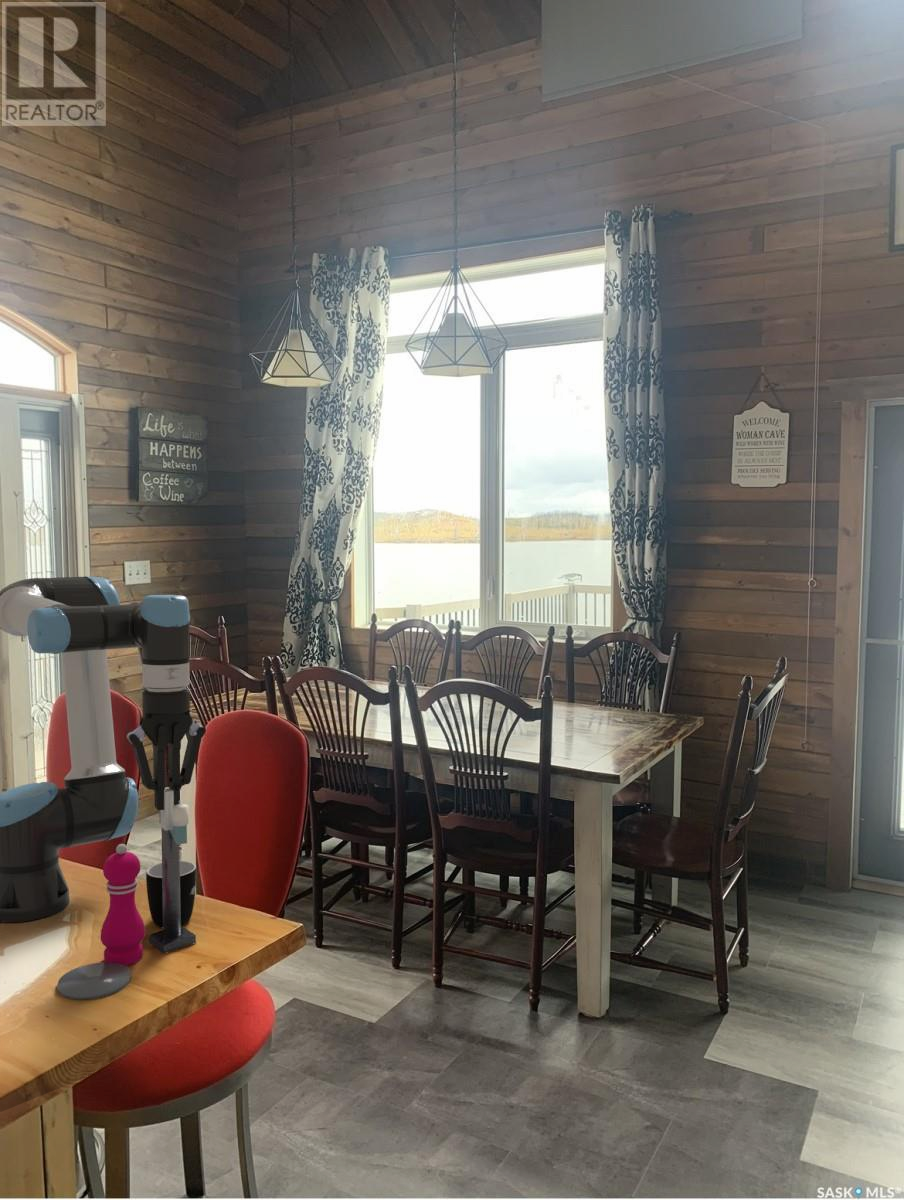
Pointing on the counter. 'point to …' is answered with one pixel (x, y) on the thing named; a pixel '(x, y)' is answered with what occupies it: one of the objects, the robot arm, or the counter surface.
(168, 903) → the post
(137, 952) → the pepper mill
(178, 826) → the pegged blue crossbar
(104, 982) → the slate coaster
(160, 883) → the mug
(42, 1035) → the counter surface
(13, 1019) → the counter surface
